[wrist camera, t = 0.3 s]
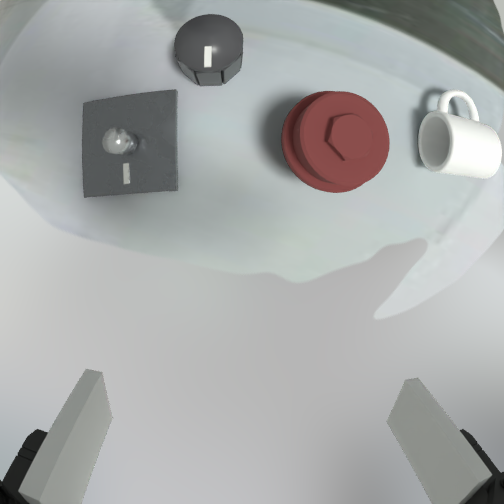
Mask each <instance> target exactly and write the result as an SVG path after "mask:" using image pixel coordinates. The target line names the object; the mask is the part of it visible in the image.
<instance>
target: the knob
mask: <svg viewBox="0 0 504 504" xmlns="http://www.w3.org/2000/svg"><path fill="white" fill-rule="evenodd" d="M174 47H175V52H176V54H175V57H176V59H177V61H178V63H179V65H180V67H181V69H182V71H183V73H184V74H185V75H186V76H187V77H189V78H190V79H191V80H192V81H193V82H194V83H196V84H197V85H199V84H200V86H217V85H222V82H223V83H224V84H226V83H227V82H228V81H229V80H230V79H231V78H232V77H233V76H235V75H236V74H237V73H238V72H239V71H240V68H241V65H242V56H243V34H242V32H241V29H240V28H239V26H238V25H237V24H236V23H235V22H234V21H232V20H231V19H229V18H227V17H224V16H221V15H215V14H208V15H202V16H198V17H195V18H193V19H191V20H189V21H188V22H187V23H185V24H184V25H183V26H182V27H181V28H180V30H179V31H178V33H177V35H176V38H175V42H174Z"/></svg>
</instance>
